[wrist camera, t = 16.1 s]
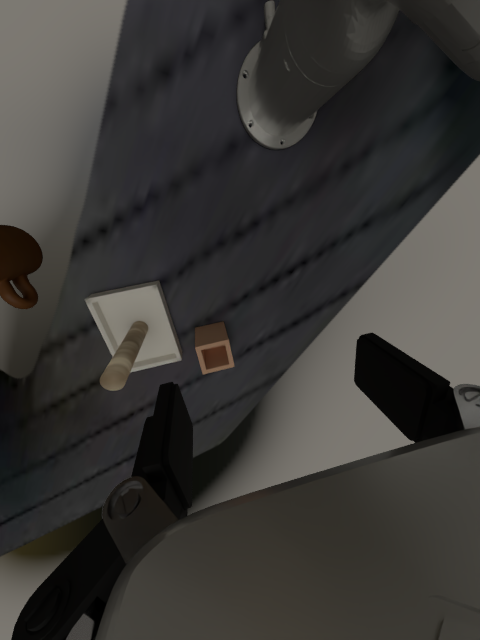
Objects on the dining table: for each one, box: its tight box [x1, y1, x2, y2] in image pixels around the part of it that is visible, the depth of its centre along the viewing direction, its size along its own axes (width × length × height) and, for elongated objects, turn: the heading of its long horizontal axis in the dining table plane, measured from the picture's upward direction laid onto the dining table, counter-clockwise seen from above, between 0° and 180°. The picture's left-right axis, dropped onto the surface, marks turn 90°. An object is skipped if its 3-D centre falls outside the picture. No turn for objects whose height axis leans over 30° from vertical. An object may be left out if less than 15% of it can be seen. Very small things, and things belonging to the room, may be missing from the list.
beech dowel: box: [100, 321, 148, 391], centre depth 36 cm, size 3×3×16 cm
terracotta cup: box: [195, 321, 234, 374], centre depth 45 cm, size 6×6×8 cm
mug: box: [0, 225, 43, 309], centre depth 33 cm, size 12×8×9 cm, turn 27°
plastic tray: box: [85, 280, 182, 372], centre depth 43 cm, size 16×12×3 cm
